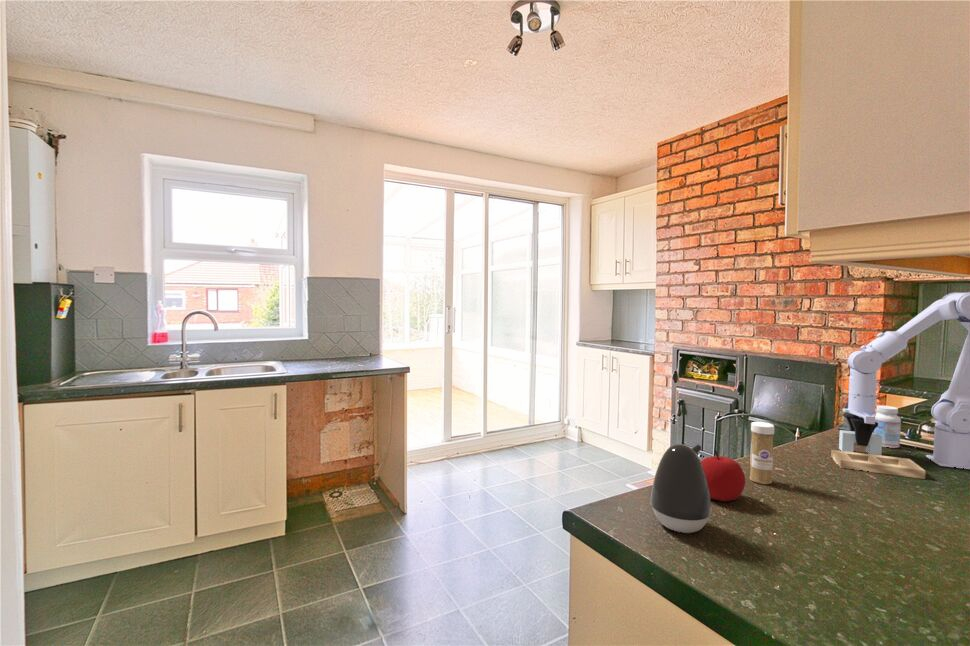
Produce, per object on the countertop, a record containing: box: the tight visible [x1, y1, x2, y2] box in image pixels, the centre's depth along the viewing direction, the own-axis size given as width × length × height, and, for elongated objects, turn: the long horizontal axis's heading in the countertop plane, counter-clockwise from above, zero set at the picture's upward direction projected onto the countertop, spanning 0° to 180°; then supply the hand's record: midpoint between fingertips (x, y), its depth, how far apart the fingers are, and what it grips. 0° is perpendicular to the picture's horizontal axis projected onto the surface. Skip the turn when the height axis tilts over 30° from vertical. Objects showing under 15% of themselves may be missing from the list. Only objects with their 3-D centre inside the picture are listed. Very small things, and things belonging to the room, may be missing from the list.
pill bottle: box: [873, 404, 902, 449], centre depth 131 cm, size 6×6×11 cm
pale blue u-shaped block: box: [838, 430, 883, 456], centre depth 124 cm, size 8×3×6 cm, turn 65°
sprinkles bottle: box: [749, 421, 775, 485], centre depth 104 cm, size 5×5×14 cm
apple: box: [700, 450, 746, 502], centre depth 95 cm, size 9×9×10 cm
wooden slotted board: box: [830, 449, 926, 480], centre depth 113 cm, size 16×9×2 cm, turn 64°
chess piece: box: [836, 403, 852, 440], centre depth 136 cm, size 6×6×12 cm
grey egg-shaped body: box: [650, 443, 712, 534], centre depth 83 cm, size 10×10×15 cm
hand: (860, 443), depth 124 cm, fingers closed on pale blue u-shaped block, 3 cm apart
